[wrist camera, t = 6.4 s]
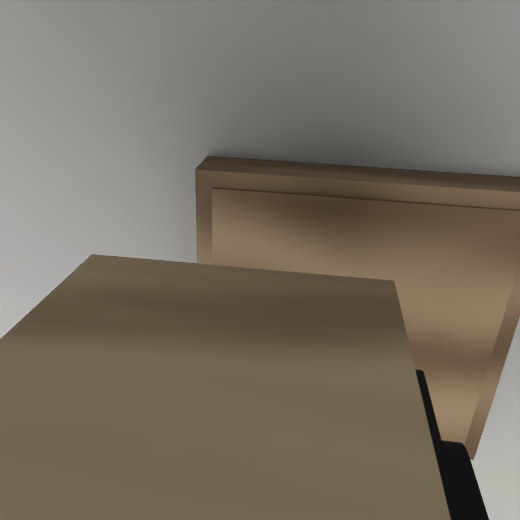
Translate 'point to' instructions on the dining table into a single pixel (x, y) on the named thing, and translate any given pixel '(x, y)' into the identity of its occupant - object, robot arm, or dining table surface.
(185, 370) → the tan cube
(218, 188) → the oak board
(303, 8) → the dining table surface
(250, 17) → the dining table surface
